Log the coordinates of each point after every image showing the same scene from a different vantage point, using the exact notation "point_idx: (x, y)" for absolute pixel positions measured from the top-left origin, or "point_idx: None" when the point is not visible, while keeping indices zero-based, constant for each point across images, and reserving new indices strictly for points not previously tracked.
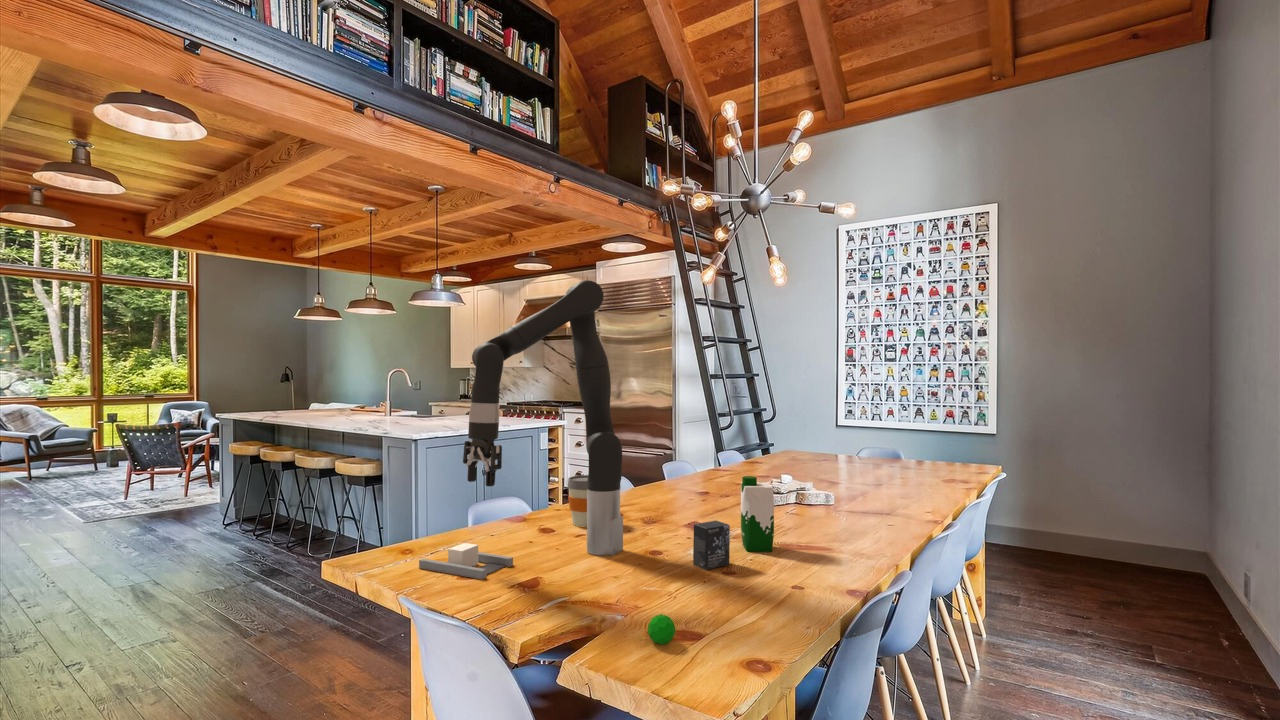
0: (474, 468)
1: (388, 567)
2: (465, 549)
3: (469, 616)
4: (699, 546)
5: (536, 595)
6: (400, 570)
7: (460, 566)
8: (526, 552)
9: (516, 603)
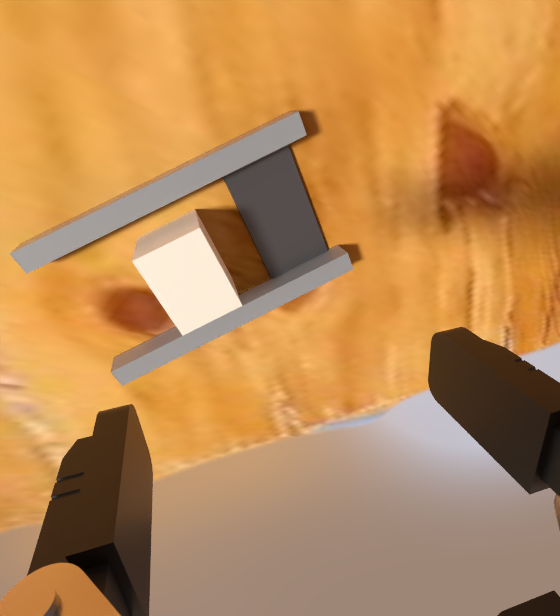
0: (129, 553)
1: (64, 433)
2: (229, 289)
3: None
4: None
5: (534, 198)
6: None
7: (270, 304)
8: None
9: (527, 259)
